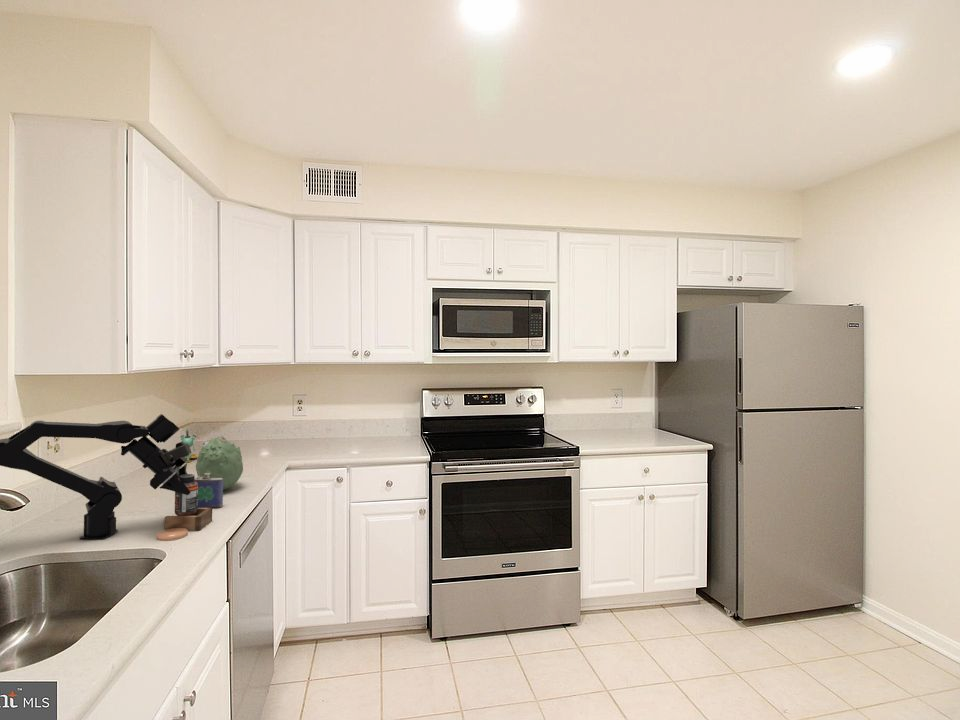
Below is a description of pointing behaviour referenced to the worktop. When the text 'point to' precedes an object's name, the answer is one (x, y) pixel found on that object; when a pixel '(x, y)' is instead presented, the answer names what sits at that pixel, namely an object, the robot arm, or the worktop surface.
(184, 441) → the teal round figure
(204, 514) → the wooden box
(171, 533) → the tan flat disc
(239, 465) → the green bumpy egg shape
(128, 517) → the worktop surface
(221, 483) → the flask
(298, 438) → the worktop surface
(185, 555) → the worktop surface
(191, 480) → the supplement bottle
